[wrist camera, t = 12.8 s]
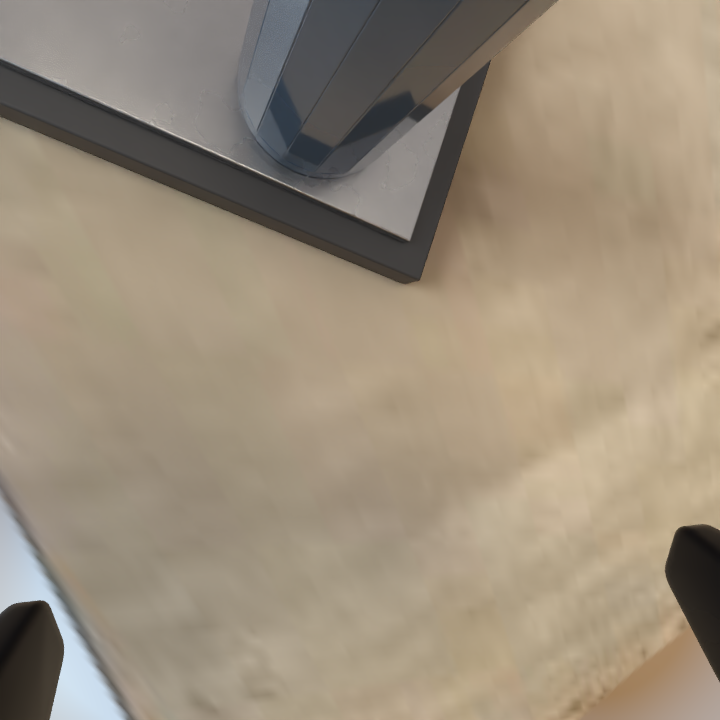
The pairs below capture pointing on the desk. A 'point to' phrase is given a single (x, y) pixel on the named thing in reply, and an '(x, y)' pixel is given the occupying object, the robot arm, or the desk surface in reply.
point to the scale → (217, 123)
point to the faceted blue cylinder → (361, 71)
